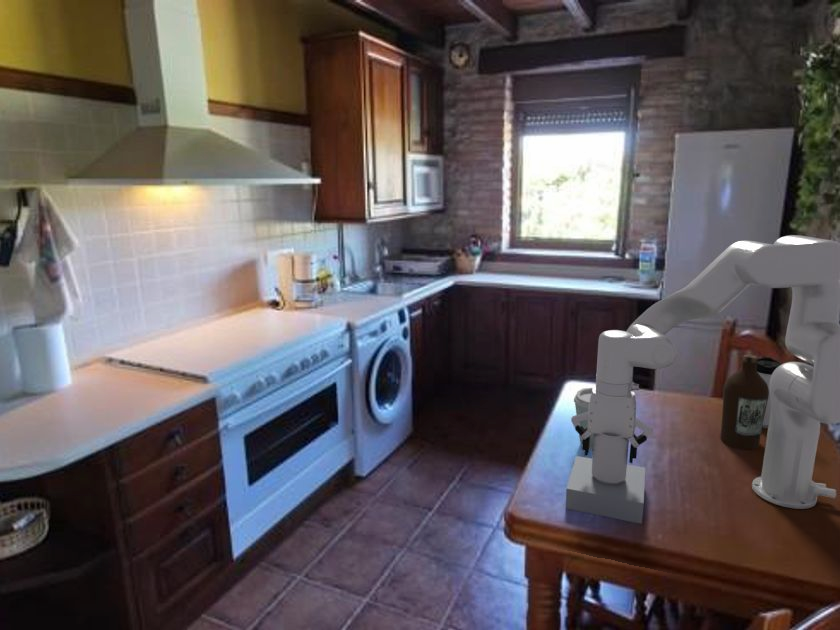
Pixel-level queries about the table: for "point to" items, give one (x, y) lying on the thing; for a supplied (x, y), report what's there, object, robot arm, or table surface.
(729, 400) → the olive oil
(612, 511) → the grey block
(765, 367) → the travel mug
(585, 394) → the disposable coffee cup
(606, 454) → the can
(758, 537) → the table surface
